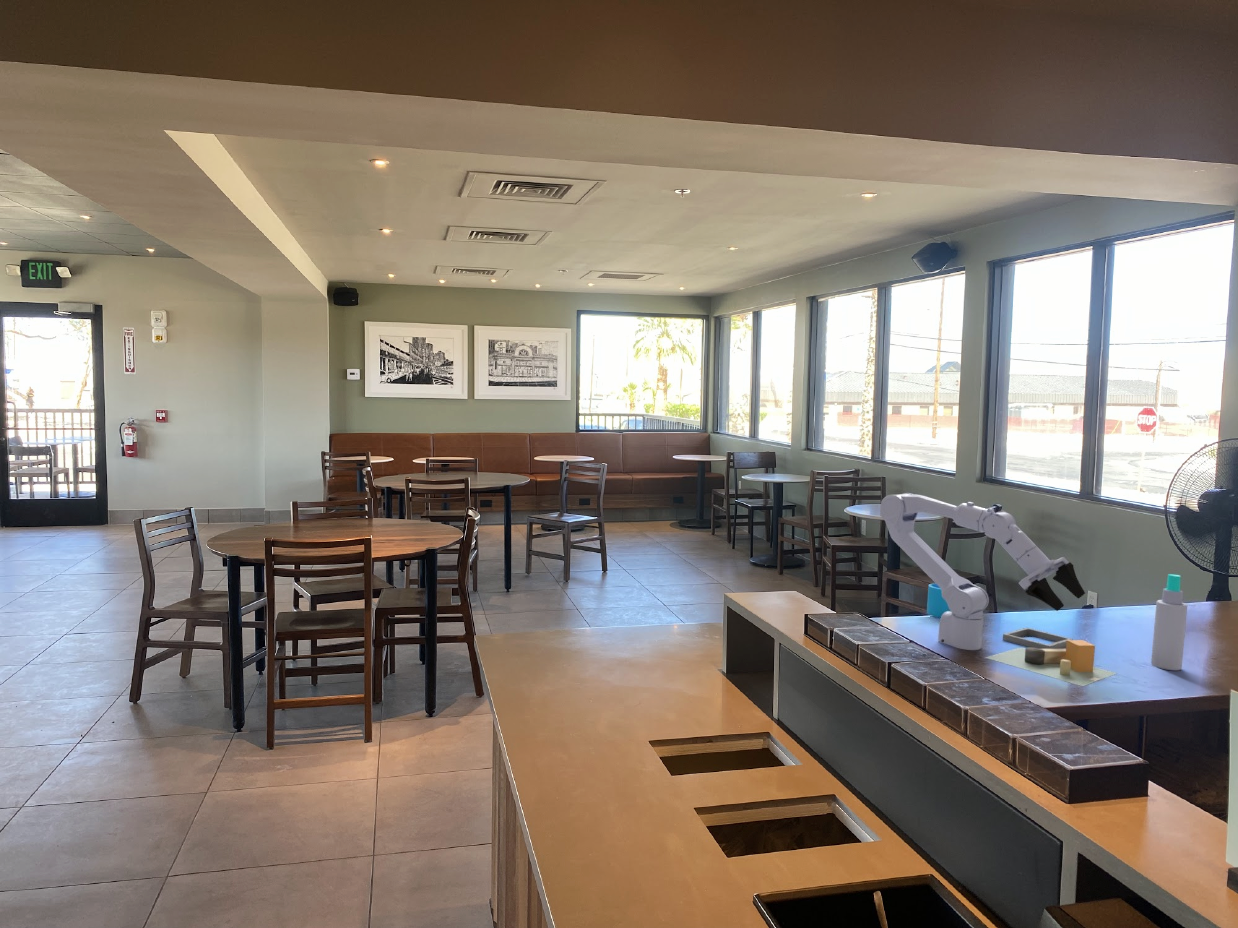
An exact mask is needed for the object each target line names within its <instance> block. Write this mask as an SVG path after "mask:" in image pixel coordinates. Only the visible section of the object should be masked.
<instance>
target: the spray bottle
mask: <svg viewBox="0 0 1238 928" xmlns="http://www.w3.org/2000/svg"><path fill="white" fill-rule="evenodd" d="M1181 578H1182V577H1181V575H1180V574H1172V573H1170V574H1169V573H1168V574H1167V581H1166V582H1167V583H1166V587H1165V588H1163V589H1162V596H1161V599H1158V600H1156V603H1155V605H1156V606H1155V615H1154V625H1153V626H1154V627H1153V638H1152V647H1151V648H1152V650H1151V658H1150V661H1151V662H1150V663H1151V665H1152V666H1153V667H1155V668H1157V669H1161V670H1165V671H1166V670H1167V671H1175V672H1176V671H1180V670H1182V667H1183V659H1184V658H1183V657H1184V648H1185V647H1184V646H1185V634H1186V624H1187V614H1188V604H1186V603H1185V602H1183V597H1184V593H1183V590H1181V580H1182V579H1181Z"/></svg>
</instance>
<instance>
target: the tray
mask: <svg viewBox="0 0 1238 928" xmlns="http://www.w3.org/2000/svg"><path fill="white" fill-rule="evenodd" d="M1027 638H1040V639H1044V640H1048V641H1051V642H1053V643H1050V644H1049V643H1048V644H1046V643H1043V642H1040V641H1034V640H1031V639H1027ZM1067 640H1074V638H1070V637H1066V636H1062V635H1058V634H1054V633H1050V632H1045V631H1042V630H1038V629H1034V628H1030V627H1025V628H1021V629H1016V630H1012V631H1009V632H1005V633H1003V634H1002V641H1005V642H1009V643H1012V644H1017V645H1019V646H1024V647H1026V648H1028V647H1032V648H1039V649H1066V644H1067Z"/></svg>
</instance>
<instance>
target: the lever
mask: <svg viewBox="0 0 1238 928" xmlns="http://www.w3.org/2000/svg"><path fill="white" fill-rule="evenodd" d="M1065 656H1066V648H1062V649H1039V648H1032V647H1025V662H1027V663H1030V664H1036V665H1042V664H1044V663H1061V660H1062V659H1064V660H1065Z"/></svg>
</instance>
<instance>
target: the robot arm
mask: <svg viewBox="0 0 1238 928" xmlns="http://www.w3.org/2000/svg"><path fill="white" fill-rule="evenodd" d="M879 509H880V510H879V516H880V517H881V518H882V519H883V520H884V523H885V524H886V527H887V530H888V532H889V535H890V538H891V540H892V541H893V542H894V543H896V545H897V546H898V547H900V549H901V550H902V551H903V552H904V553H905V554H906V555H907V556H908V557H909V558H910V559H911V560H912V561H913V562H914V563H915V564H916V566H918V567H919V568H920V569H921V570H922V571H923V572H924V573H925V574H926V575H927V577H928V578H930V579H931V580H932V581H933V582H934V584H937V585H938V586H939V587H940V588H941V590H942V597H943V598H944V599H945V601H946V602H947V604H948V607H949V609H950V610H951V611H946V612H944V613H943V614H942V616H941V618H939V622H938V635H937V636H938V639H937V642H938V643H940V644H945V645H949V646H950V647H951V646H952V647H953V648H957V649H961V650H966V651H967V650H968V651H977V650H981V649H982V644H983V643H982V640H983V628H984V627H983V625H984V612H983V611H984V610H985V609H986V608H987V607H988V605H989V601H990V599H989V594H988V593H987V591H986V590H985V589H984V588H982V587H980V586H978V585H976V584H973V583H972V582H971V581H970V580H969V579H967V578H965V577H962V576H960V575H959V574H958V573H957V572H956V571H955V570H954V569H953V568H952V567H951V566H949V564H948V563H947V562H946V561H945V560H944V559H942V558H941V557H940V556H939V555H938V554H937V552H936V551H935V550H933V548H932V547H930V546H929V545H928V543H926V542H925V541H924V540H923V539H922V538H921V536H919V535H918V534H917V533H916V532H915V522H916V521H917V517H918V514H919V513H922V512H924V513H928V514H931V515H936V516H940V517H945V518H948V519H952V520H953V521H954V523H955V525H956V526H959V527H962V528H966V529H969V530H972V531H976V532H980V533H984V535H985V536H986V537H988V538H990V539H994V540H996V542H997V543H998V544H999V545H1000V546H1001V547H1002V548H1003V549H1004V550H1005V552H1007V553H1008V554H1009V555H1008V556H1010V557H1011V558H1012V559H1013V560H1014V561H1015V562H1016V563H1017V565H1018V566H1019V567H1020V568H1021V569H1022V570H1023V571H1024V572H1025V574H1027V576H1025V577H1024V578H1022V579H1020V581H1019V582H1018V585H1020V587H1021V588H1022V589H1023V590H1025V592H1024V593H1026V595H1028V596H1031V597H1033V598H1036V599H1038V600H1039V601H1041V602H1043V603H1044V604H1046V605H1048V606H1049V607H1051V608H1052V609H1053V610H1055V611H1056V612H1058V611H1060V610H1061V609H1062V608H1063V607H1064V606H1065V605H1064V603H1063V601H1062V600H1061V599H1060V598H1059V597H1058V595H1057V594H1056V593H1055V592H1054V590H1053V589H1052V588H1051V585H1050V584H1049V582H1048V580H1047V577H1049V576H1050V575H1053V574H1055V575H1054V576H1052V580H1054V581H1056V583H1057V582H1058V583H1059V584H1061V585H1062V586H1063V587H1065V589H1067V590H1068V591H1069V592H1070V593H1071V594H1072V595H1073V596H1074V597H1075V598H1077V599H1080V598H1082V597H1083V596H1084V595H1085V594H1086V592H1085V590H1084V588H1083V587H1082V585H1081V583H1080V581H1079V579H1078V577H1077V574H1076V572H1075V567H1074V564H1073V563H1072V562H1069V561H1068V560H1067V559H1066V557H1064V556H1062V557H1059V558H1058V559H1051V560H1050V559H1049V558H1048V557H1047V555H1046V554H1045V553H1044V552H1043V551H1042V550H1041V549H1040V548H1039V547H1038V546H1037V545H1036V544H1035V543H1034V541H1032V540H1031V539H1030V537H1029V536H1027V534H1026V533H1025V532H1024V531H1022V530H1021V529H1020V527H1019V526H1018V525H1017V521H1016V518H1015V517H1014V516H1013V515H1012V514H1011V513H1008V512H1007V511H1005V510H999V511H997V512H995V509H994V508H992V507H988V508H984V507H980V506H977V505H975V502H972V501H967V503H965V502H962V503H960V504H959V505H954V504H951V503H947V502H945V501H941V500H939V499H936V498H932V497H929V496H926V495H923V494H916V493H915V494H913V493H910V492H904V493H901V494H899V493H898V494H888V495H885V497H884V498H882V500H881V502H880V508H879Z"/></svg>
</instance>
